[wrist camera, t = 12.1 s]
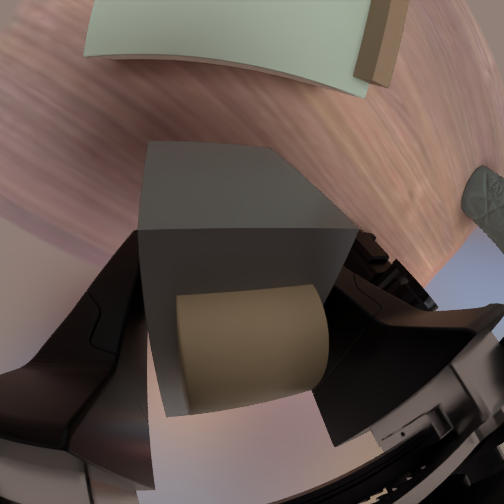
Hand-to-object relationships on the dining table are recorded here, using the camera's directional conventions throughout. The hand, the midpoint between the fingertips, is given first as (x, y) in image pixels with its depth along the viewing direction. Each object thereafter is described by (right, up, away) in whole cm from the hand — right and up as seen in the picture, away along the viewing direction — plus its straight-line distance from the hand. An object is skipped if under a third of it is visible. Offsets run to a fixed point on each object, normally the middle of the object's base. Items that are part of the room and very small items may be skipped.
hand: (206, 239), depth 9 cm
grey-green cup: (+36, +9, +22) cm, 43 cm away
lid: (+2, +13, -2) cm, 13 cm away
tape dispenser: (-1, 0, +1) cm, 1 cm away
